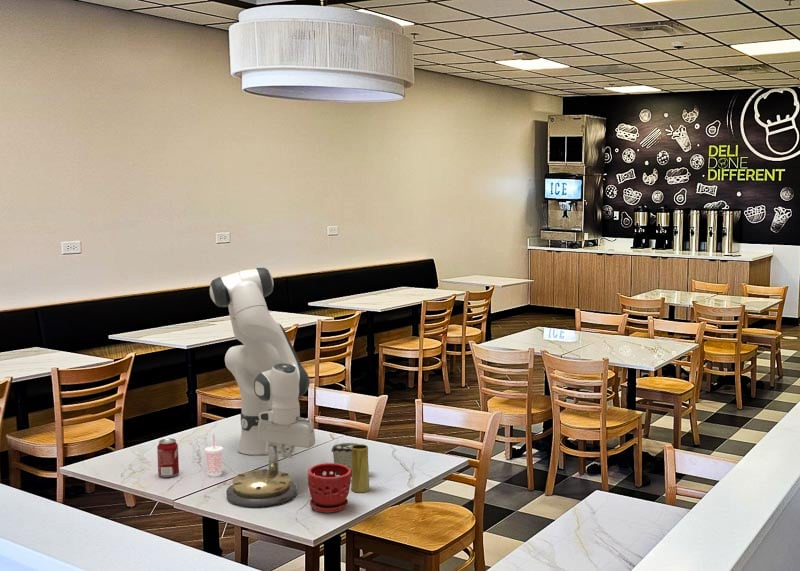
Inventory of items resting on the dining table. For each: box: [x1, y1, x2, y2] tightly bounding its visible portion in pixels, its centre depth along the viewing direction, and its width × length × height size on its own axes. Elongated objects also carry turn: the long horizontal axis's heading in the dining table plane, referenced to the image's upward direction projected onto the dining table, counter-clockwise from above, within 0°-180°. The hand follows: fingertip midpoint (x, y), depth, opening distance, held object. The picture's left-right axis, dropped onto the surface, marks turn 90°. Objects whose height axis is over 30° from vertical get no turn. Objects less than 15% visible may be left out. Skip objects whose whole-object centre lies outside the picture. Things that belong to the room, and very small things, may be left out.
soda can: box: [156, 438, 180, 479], centre depth 282 cm, size 7×7×12 cm
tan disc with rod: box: [232, 444, 291, 498], centre depth 262 cm, size 18×18×12 cm
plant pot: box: [307, 462, 352, 513], centre depth 252 cm, size 13×13×12 cm
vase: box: [350, 443, 371, 494], centre depth 267 cm, size 6×6×14 cm
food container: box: [330, 442, 358, 478], centre depth 282 cm, size 12×6×10 cm, turn 71°
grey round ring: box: [225, 480, 298, 509], centre depth 263 cm, size 22×22×2 cm
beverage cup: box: [204, 433, 224, 477], centre depth 282 cm, size 6×6×14 cm
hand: (286, 457), depth 266 cm, fingers closed
